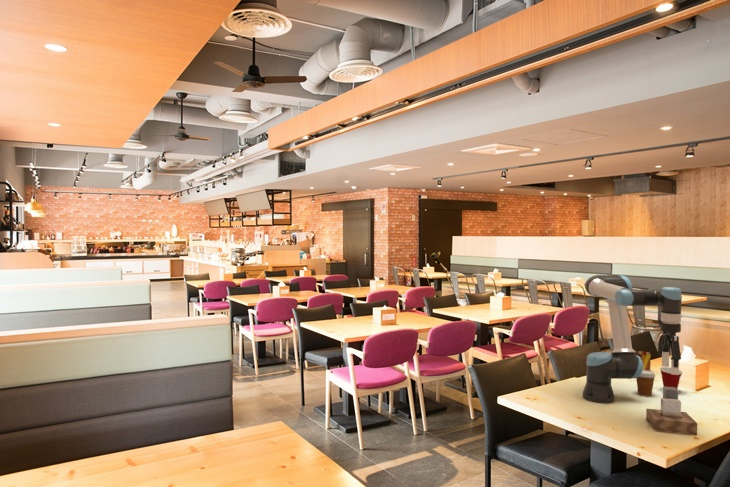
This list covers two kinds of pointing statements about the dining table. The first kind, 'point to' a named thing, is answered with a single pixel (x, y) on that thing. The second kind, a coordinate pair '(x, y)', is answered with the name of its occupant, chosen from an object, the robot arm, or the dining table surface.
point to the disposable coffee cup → (645, 383)
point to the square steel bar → (670, 393)
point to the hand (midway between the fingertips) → (670, 370)
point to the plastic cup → (670, 377)
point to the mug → (644, 359)
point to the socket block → (671, 422)
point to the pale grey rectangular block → (670, 408)
